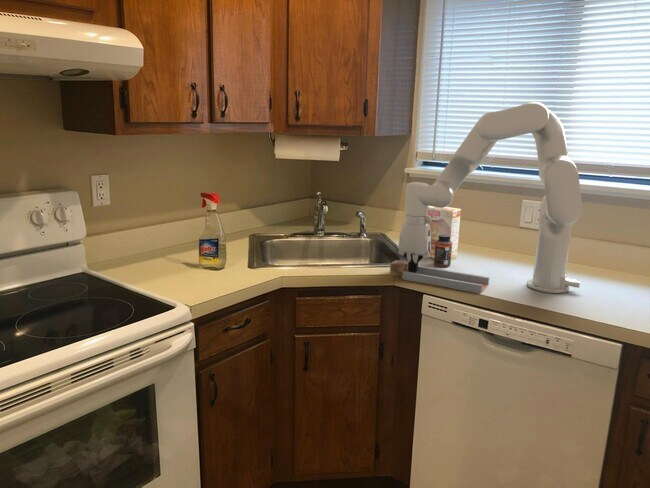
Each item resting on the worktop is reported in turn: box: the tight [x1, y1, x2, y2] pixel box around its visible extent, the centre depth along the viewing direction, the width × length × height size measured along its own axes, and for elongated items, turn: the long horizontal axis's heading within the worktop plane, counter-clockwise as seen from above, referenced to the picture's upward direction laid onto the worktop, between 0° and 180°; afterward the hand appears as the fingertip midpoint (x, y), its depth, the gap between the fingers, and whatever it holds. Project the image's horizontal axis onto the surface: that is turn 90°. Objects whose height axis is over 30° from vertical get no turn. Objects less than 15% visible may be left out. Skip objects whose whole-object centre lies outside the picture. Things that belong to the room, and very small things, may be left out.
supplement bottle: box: [433, 234, 452, 268], centre depth 196 cm, size 6×6×11 cm
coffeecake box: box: [427, 206, 462, 261], centre depth 207 cm, size 15×7×20 cm, turn 49°
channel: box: [401, 265, 490, 294], centre depth 178 cm, size 26×10×2 cm, turn 61°
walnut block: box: [389, 259, 409, 278], centre depth 185 cm, size 5×5×4 cm
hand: (412, 272), depth 183 cm, fingers closed
